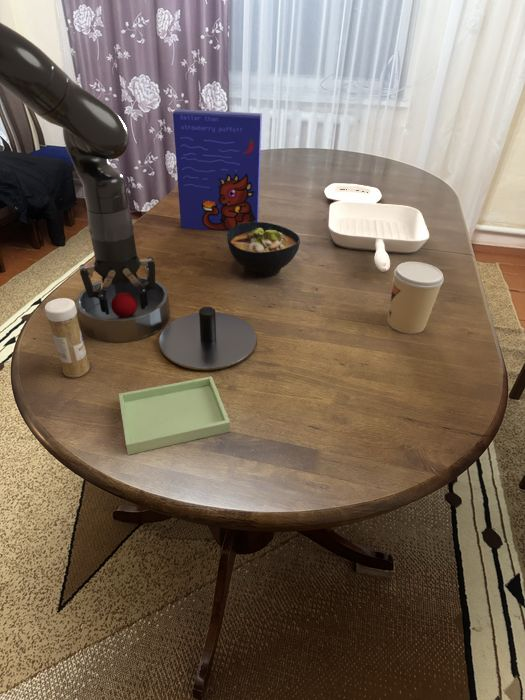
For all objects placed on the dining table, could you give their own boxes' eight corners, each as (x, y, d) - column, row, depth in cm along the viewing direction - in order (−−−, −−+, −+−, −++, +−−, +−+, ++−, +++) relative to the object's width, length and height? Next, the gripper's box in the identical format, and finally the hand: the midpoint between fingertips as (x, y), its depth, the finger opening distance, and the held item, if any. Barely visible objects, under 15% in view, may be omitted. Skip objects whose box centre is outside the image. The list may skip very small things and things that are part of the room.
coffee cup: (390, 307, 102) (401, 256, 95) (433, 319, 99) (448, 267, 92) (377, 327, 95) (389, 275, 88) (423, 341, 92) (439, 287, 85)
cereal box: (258, 224, 137) (261, 112, 120) (256, 232, 133) (260, 116, 115) (185, 220, 138) (177, 108, 120) (181, 228, 133) (172, 112, 115)
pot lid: (169, 381, 80) (165, 348, 76) (152, 324, 94) (149, 293, 89) (269, 362, 85) (271, 330, 81) (240, 310, 99) (240, 281, 95)
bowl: (263, 294, 105) (265, 253, 99) (213, 268, 114) (212, 229, 108) (311, 270, 115) (315, 232, 109) (261, 248, 124) (262, 212, 118)
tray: (128, 455, 67) (125, 445, 65) (120, 403, 75) (118, 393, 74) (230, 431, 71) (230, 422, 70) (212, 385, 79) (211, 376, 78)
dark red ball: (114, 324, 92) (110, 302, 89) (112, 311, 96) (108, 290, 93) (140, 320, 94) (137, 298, 91) (137, 307, 97) (133, 286, 94)
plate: (379, 211, 150) (380, 205, 149) (320, 204, 153) (321, 198, 152) (381, 192, 165) (382, 187, 164) (327, 186, 168) (328, 181, 167)
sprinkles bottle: (94, 372, 81) (78, 306, 73) (67, 382, 79) (48, 314, 71) (85, 359, 84) (69, 294, 76) (59, 367, 82) (40, 301, 74)
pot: (83, 349, 86) (77, 326, 83) (80, 302, 99) (75, 281, 96) (176, 334, 91) (174, 312, 88) (162, 291, 104) (160, 271, 101)
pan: (415, 221, 144) (419, 206, 141) (438, 289, 109) (444, 271, 107) (328, 213, 146) (330, 199, 144) (323, 278, 112) (326, 260, 109)
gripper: (149, 220, 89) (158, 296, 99) (69, 227, 85) (87, 305, 95) (155, 235, 83) (163, 314, 93) (70, 243, 79) (88, 325, 89)
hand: (125, 309), depth 94 cm, fingers open, 6 cm apart
